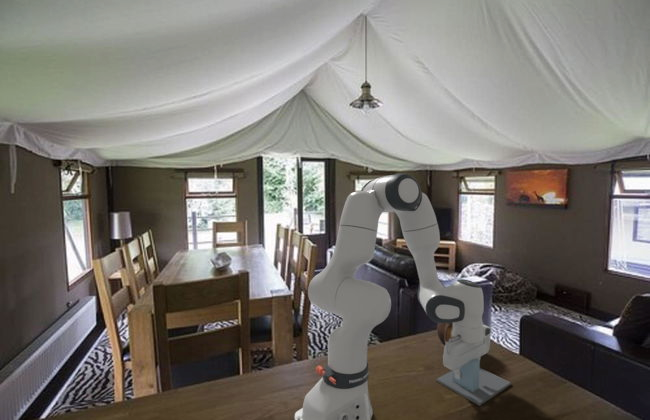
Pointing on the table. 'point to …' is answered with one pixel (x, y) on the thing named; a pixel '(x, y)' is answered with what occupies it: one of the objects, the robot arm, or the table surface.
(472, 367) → the block
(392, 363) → the table surface
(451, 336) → the wooden sphere
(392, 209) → the robot arm
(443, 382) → the mat
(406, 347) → the table surface
